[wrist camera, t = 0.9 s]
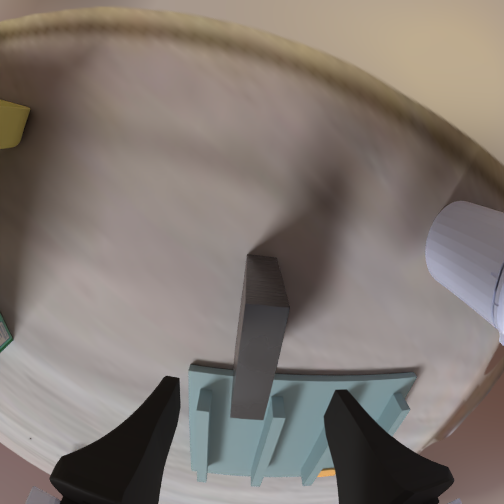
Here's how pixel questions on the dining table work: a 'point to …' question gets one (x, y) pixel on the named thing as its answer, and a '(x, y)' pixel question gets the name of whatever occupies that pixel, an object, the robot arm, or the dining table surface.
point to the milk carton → (4, 335)
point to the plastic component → (12, 123)
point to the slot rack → (282, 422)
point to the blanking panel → (258, 337)
